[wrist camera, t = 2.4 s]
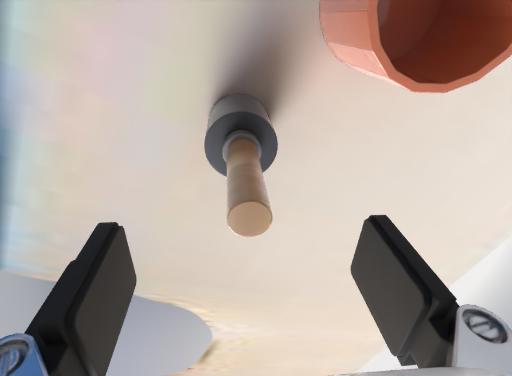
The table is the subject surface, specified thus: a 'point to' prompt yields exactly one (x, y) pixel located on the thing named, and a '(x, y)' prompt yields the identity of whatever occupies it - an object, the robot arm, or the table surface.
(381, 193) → the table surface
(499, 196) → the table surface
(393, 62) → the tumbler
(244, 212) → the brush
